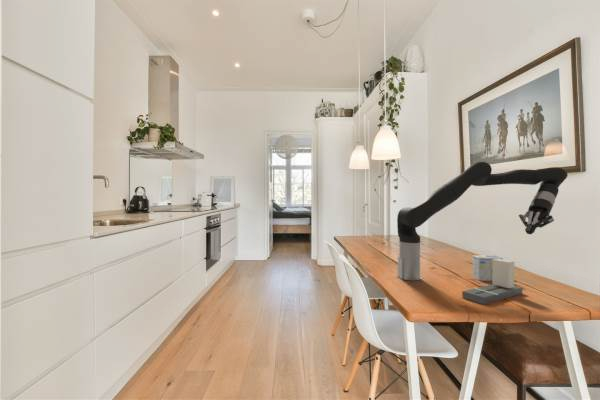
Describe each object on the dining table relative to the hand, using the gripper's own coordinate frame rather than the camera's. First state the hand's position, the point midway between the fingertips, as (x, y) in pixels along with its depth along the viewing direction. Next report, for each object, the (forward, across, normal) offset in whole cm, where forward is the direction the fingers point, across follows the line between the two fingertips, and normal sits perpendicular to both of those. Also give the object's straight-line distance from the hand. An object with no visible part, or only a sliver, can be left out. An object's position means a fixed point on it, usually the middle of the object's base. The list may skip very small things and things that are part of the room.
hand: (528, 232), depth 126 cm
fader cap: (+27, +1, -1) cm, 27 cm away
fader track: (+34, +1, +2) cm, 34 cm away
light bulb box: (+18, +16, -14) cm, 28 cm away
